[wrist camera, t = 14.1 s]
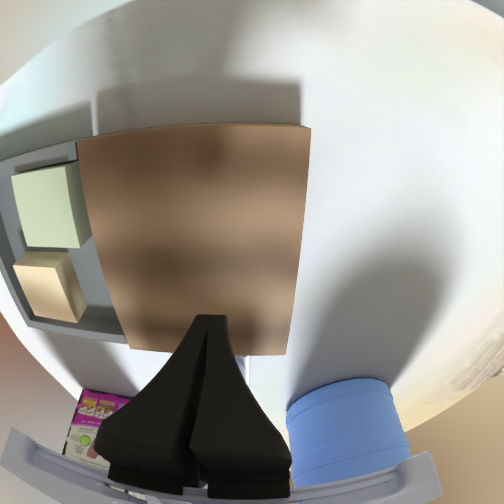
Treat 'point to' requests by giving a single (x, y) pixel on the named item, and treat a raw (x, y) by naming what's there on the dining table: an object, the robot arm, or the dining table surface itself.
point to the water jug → (344, 432)
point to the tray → (84, 259)
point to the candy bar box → (91, 428)
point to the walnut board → (199, 228)
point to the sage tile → (52, 205)
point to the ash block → (51, 285)
